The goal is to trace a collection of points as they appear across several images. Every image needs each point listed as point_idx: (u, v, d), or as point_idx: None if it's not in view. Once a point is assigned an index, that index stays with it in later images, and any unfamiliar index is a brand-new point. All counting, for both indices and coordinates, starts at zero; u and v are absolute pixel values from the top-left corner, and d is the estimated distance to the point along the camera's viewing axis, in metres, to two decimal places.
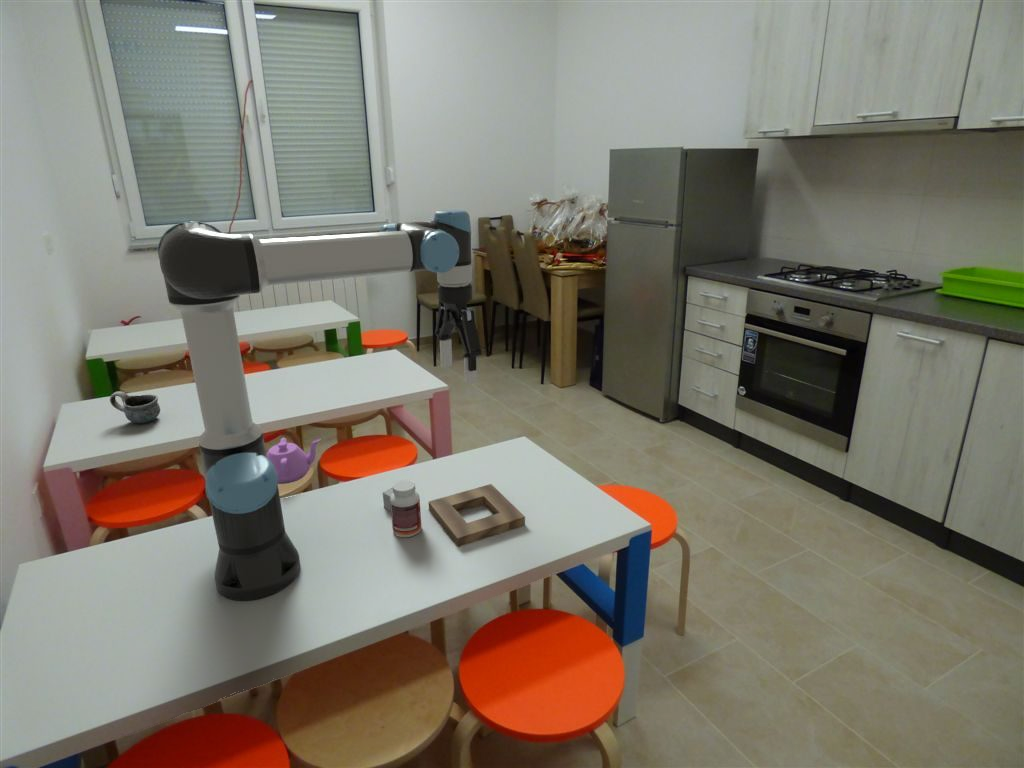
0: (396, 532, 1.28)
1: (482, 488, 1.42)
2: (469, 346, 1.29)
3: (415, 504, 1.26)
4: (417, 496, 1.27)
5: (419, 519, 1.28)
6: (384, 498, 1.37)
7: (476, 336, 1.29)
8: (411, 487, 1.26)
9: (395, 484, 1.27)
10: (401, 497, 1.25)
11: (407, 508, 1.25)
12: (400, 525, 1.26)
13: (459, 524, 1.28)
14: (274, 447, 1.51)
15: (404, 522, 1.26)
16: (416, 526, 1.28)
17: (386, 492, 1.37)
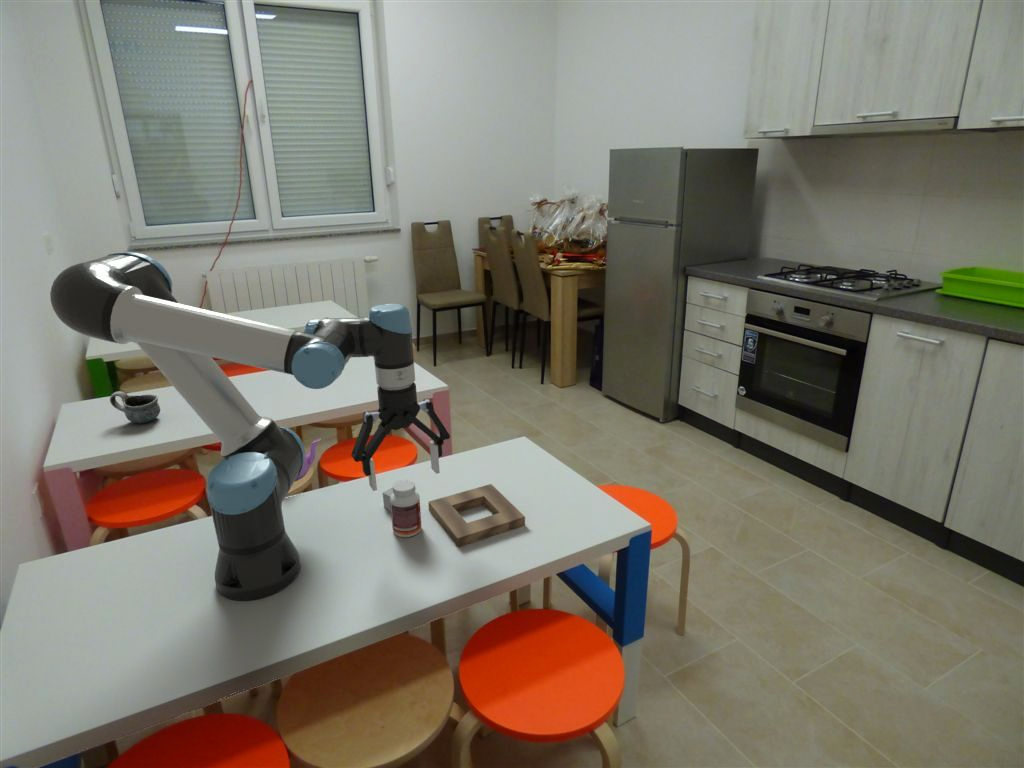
0: (396, 532, 1.28)
1: (482, 488, 1.42)
2: None
3: (415, 504, 1.26)
4: (417, 496, 1.27)
5: (419, 519, 1.28)
6: (384, 498, 1.37)
7: (360, 441, 1.17)
8: (411, 487, 1.26)
9: (395, 484, 1.27)
10: (401, 497, 1.25)
11: (407, 508, 1.25)
12: (400, 525, 1.26)
13: (459, 524, 1.28)
14: None
15: (404, 522, 1.26)
16: (416, 526, 1.28)
17: (386, 492, 1.37)
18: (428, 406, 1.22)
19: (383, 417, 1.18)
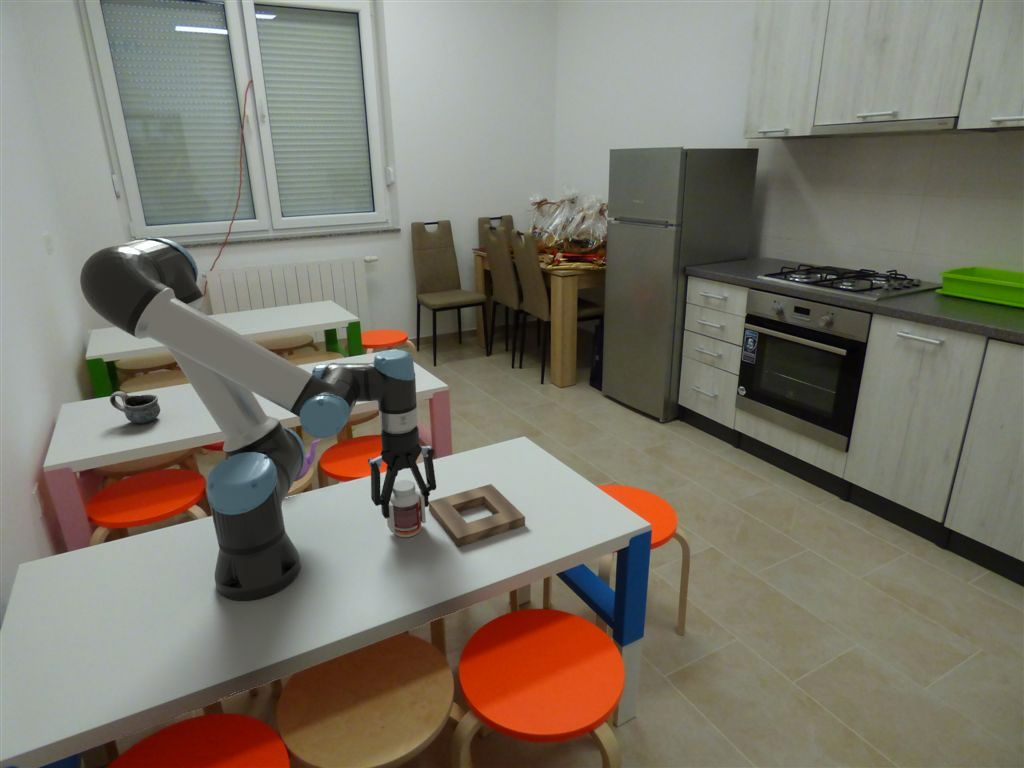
0: (396, 532, 1.28)
1: (482, 488, 1.42)
2: None
3: (415, 504, 1.26)
4: (417, 496, 1.27)
5: (419, 519, 1.28)
6: None
7: (373, 487, 1.22)
8: (411, 487, 1.26)
9: (395, 484, 1.27)
10: (401, 497, 1.25)
11: (407, 508, 1.25)
12: (400, 525, 1.26)
13: (459, 524, 1.28)
14: None
15: (404, 522, 1.26)
16: (416, 526, 1.28)
17: None
18: (429, 452, 1.25)
19: (386, 459, 1.21)
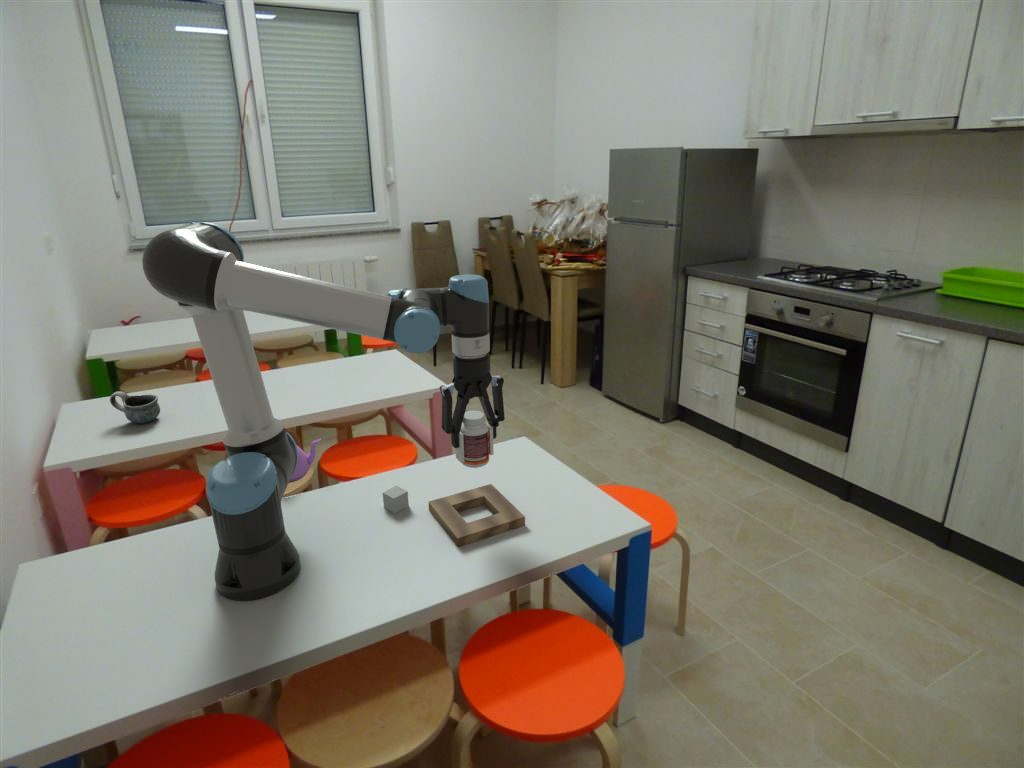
0: (465, 463, 1.27)
1: (482, 488, 1.42)
2: None
3: (485, 434, 1.25)
4: (486, 426, 1.26)
5: (488, 450, 1.28)
6: (384, 498, 1.37)
7: (445, 415, 1.21)
8: (481, 416, 1.25)
9: (464, 414, 1.26)
10: (471, 426, 1.24)
11: (477, 437, 1.24)
12: (470, 455, 1.26)
13: (459, 524, 1.28)
14: None
15: (474, 451, 1.25)
16: (485, 456, 1.27)
17: (386, 492, 1.37)
18: (499, 381, 1.25)
19: (458, 386, 1.21)
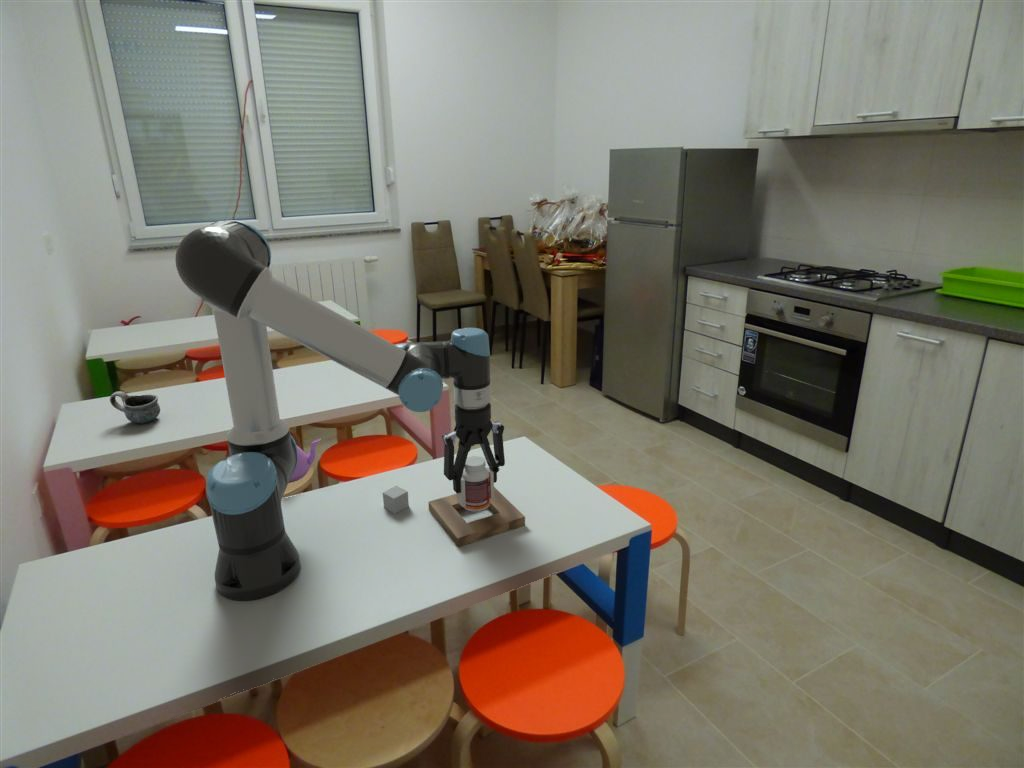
0: (467, 507, 1.31)
1: None
2: None
3: (486, 479, 1.29)
4: (487, 471, 1.30)
5: (489, 494, 1.32)
6: (384, 498, 1.37)
7: (447, 462, 1.25)
8: (482, 462, 1.29)
9: (466, 460, 1.30)
10: (473, 472, 1.28)
11: (478, 483, 1.28)
12: (471, 500, 1.29)
13: (459, 524, 1.28)
14: None
15: (475, 496, 1.29)
16: (486, 501, 1.31)
17: (386, 492, 1.37)
18: (499, 428, 1.29)
19: (460, 434, 1.24)
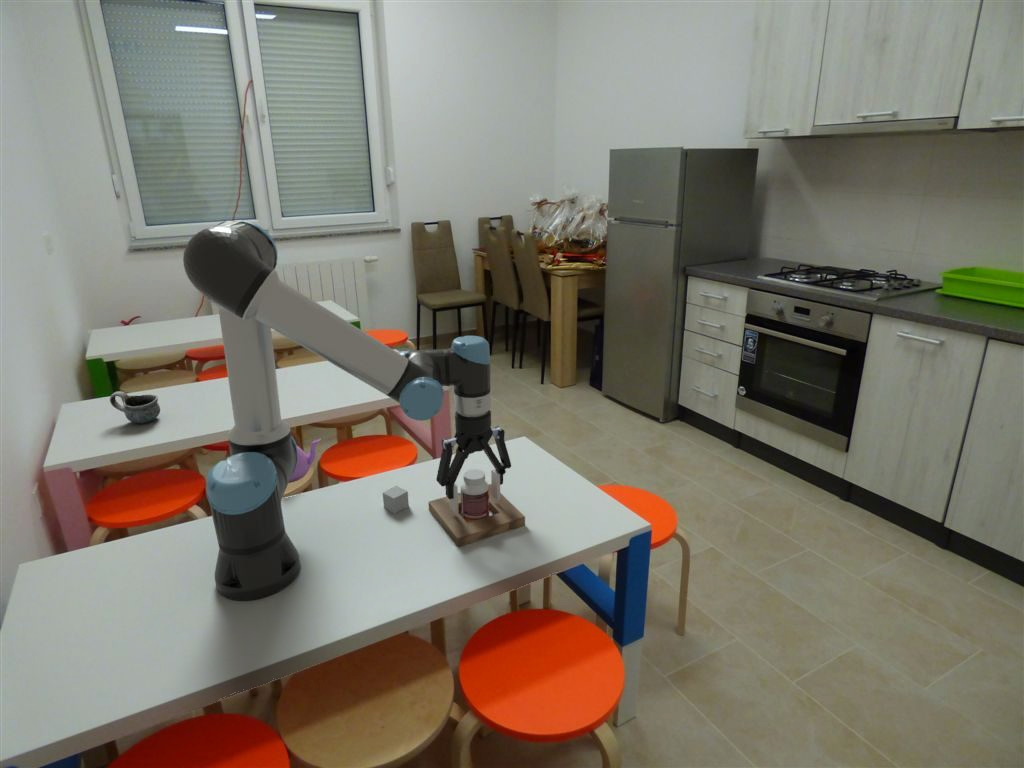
0: (466, 519, 1.32)
1: None
2: None
3: (486, 492, 1.30)
4: (487, 485, 1.31)
5: (488, 507, 1.33)
6: (384, 498, 1.37)
7: (443, 467, 1.25)
8: (482, 476, 1.30)
9: (466, 473, 1.31)
10: (472, 485, 1.29)
11: (478, 496, 1.29)
12: (471, 512, 1.31)
13: (459, 524, 1.28)
14: None
15: (475, 509, 1.30)
16: (485, 513, 1.32)
17: (386, 492, 1.37)
18: (500, 433, 1.29)
19: (460, 442, 1.25)
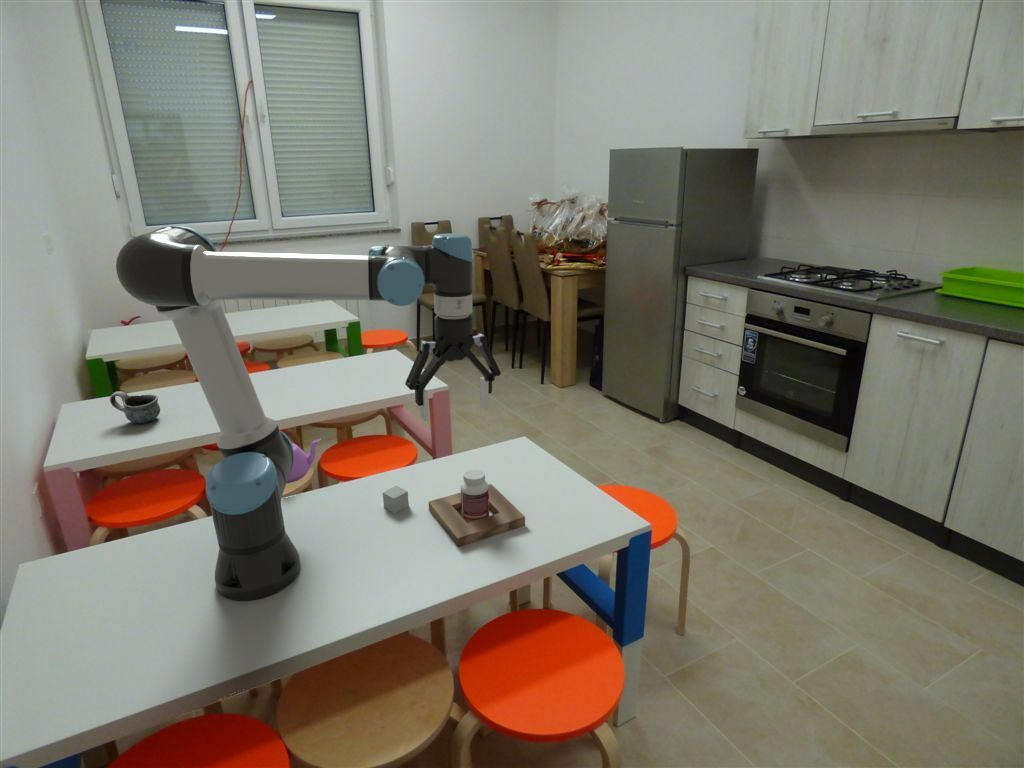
0: (466, 519, 1.32)
1: None
2: None
3: (486, 492, 1.30)
4: (487, 485, 1.31)
5: (488, 507, 1.33)
6: (384, 498, 1.37)
7: (415, 369, 1.18)
8: (482, 476, 1.30)
9: (465, 473, 1.31)
10: (472, 485, 1.29)
11: (478, 496, 1.29)
12: (471, 513, 1.31)
13: (459, 524, 1.28)
14: None
15: (475, 509, 1.30)
16: (485, 513, 1.32)
17: (386, 492, 1.37)
18: (482, 340, 1.23)
19: (439, 347, 1.19)
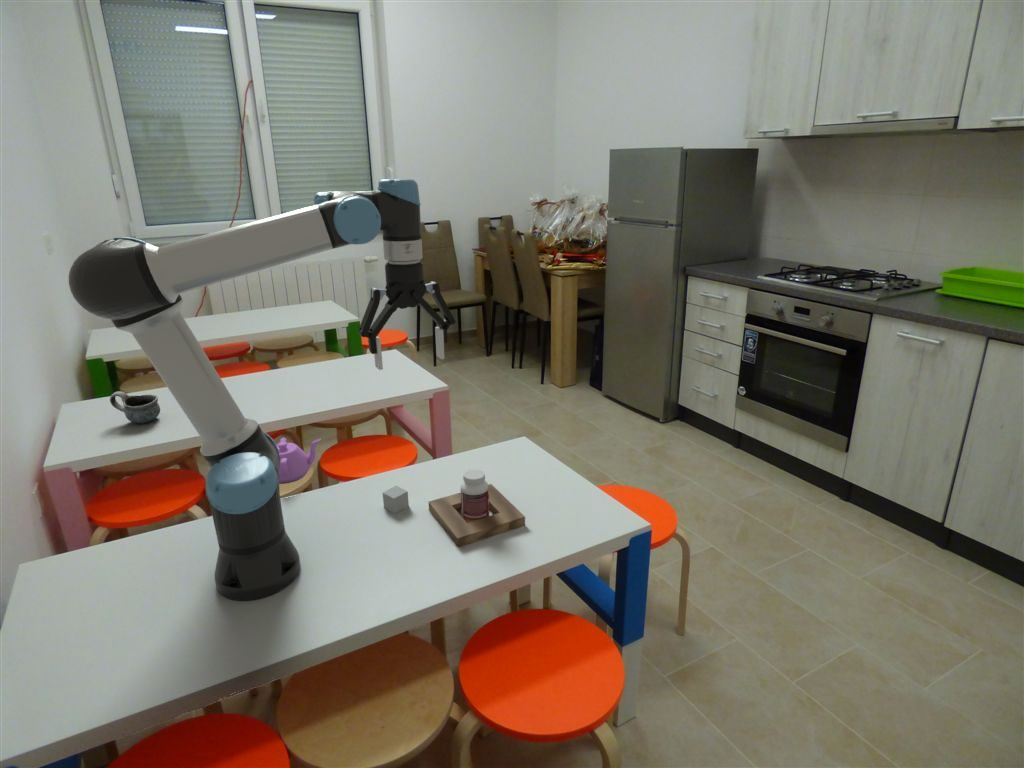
0: (466, 519, 1.32)
1: None
2: None
3: (485, 492, 1.30)
4: (487, 484, 1.31)
5: (488, 507, 1.33)
6: (384, 498, 1.37)
7: (367, 316, 1.19)
8: (481, 476, 1.30)
9: (465, 473, 1.31)
10: (472, 485, 1.29)
11: (478, 496, 1.29)
12: (471, 512, 1.31)
13: (459, 524, 1.28)
14: None
15: (475, 509, 1.30)
16: (485, 513, 1.32)
17: (386, 492, 1.37)
18: (434, 287, 1.23)
19: (390, 293, 1.19)
